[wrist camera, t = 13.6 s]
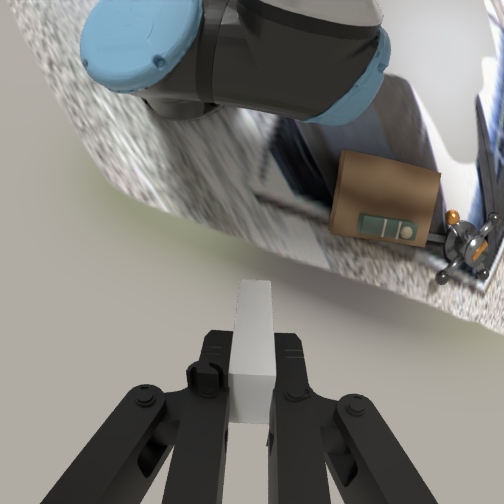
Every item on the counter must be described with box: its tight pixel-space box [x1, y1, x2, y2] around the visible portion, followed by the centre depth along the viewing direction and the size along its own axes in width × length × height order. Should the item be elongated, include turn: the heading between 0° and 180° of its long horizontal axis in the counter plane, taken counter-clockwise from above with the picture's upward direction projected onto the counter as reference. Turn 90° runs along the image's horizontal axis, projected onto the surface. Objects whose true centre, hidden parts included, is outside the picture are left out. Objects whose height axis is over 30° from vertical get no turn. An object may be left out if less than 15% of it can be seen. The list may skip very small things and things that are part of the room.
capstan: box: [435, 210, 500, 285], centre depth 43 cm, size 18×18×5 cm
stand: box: [328, 149, 441, 247], centre depth 41 cm, size 12×16×8 cm
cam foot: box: [410, 220, 477, 262], centre depth 45 cm, size 8×17×2 cm, turn 84°
